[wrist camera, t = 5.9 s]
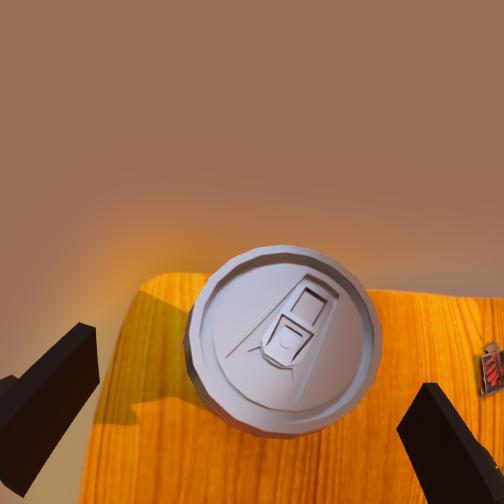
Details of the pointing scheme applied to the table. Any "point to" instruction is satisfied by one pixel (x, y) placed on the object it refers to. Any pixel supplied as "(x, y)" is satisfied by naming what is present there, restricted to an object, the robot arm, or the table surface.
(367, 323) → the beer can
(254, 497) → the table surface
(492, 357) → the matchbox
